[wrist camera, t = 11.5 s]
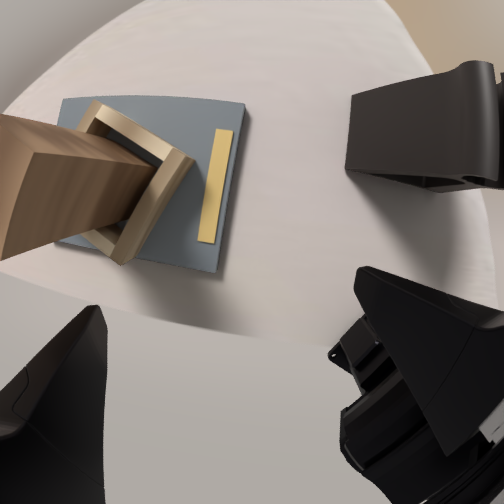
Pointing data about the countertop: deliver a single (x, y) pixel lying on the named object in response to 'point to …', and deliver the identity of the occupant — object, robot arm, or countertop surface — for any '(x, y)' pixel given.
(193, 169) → the slate board
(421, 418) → the robot arm
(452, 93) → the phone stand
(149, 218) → the maple socket
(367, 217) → the countertop surface
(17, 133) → the walnut block
